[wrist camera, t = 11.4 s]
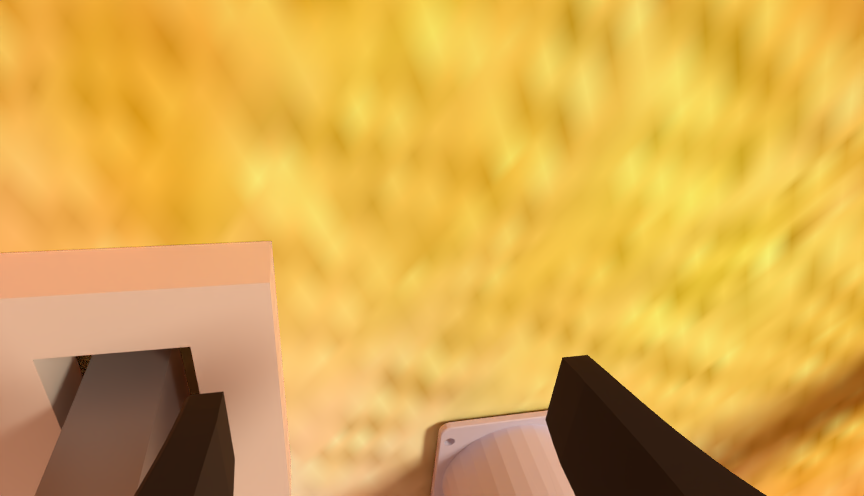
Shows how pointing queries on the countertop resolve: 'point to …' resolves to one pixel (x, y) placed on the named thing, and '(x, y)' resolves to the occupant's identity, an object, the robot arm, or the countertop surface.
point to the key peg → (116, 424)
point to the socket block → (142, 344)
